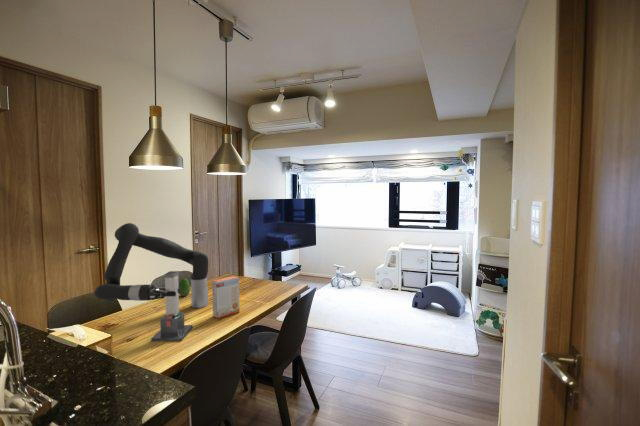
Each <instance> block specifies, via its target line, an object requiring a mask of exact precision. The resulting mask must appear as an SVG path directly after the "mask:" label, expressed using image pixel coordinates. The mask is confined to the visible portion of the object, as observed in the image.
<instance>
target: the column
mask: <svg viewBox="0 0 640 426" xmlns="http://www.w3.org/2000/svg"><path fill="white" fill-rule="evenodd" d="M179 276H180V271H179V270H174V271H173V270H171V271H170V270H169V271H168V272H166V273H164V274H163V278H164V286H165V291H167V292H169V291H175V292H176V296H167V297H164V299H165V314H166V316H168V315H173V317H177V316H178V315H179V312H180V306H179V305H180V298H179V297H180V294H179V290H178V286H179Z"/></svg>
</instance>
